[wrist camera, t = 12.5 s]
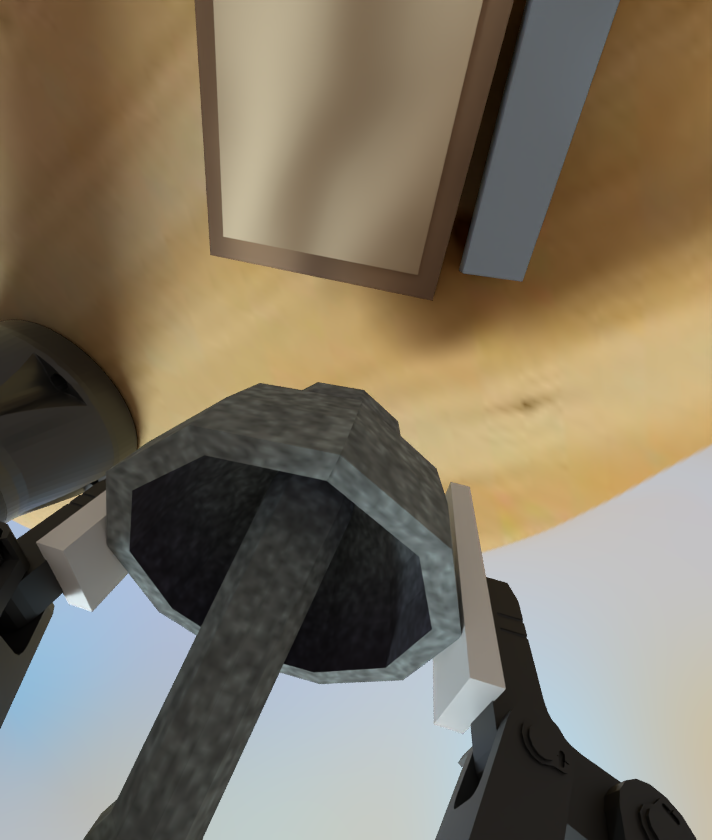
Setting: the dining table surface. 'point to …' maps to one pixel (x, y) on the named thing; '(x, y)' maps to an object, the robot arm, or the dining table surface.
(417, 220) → the stand
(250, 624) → the mortar and pestle
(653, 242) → the dining table surface
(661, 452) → the dining table surface
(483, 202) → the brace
